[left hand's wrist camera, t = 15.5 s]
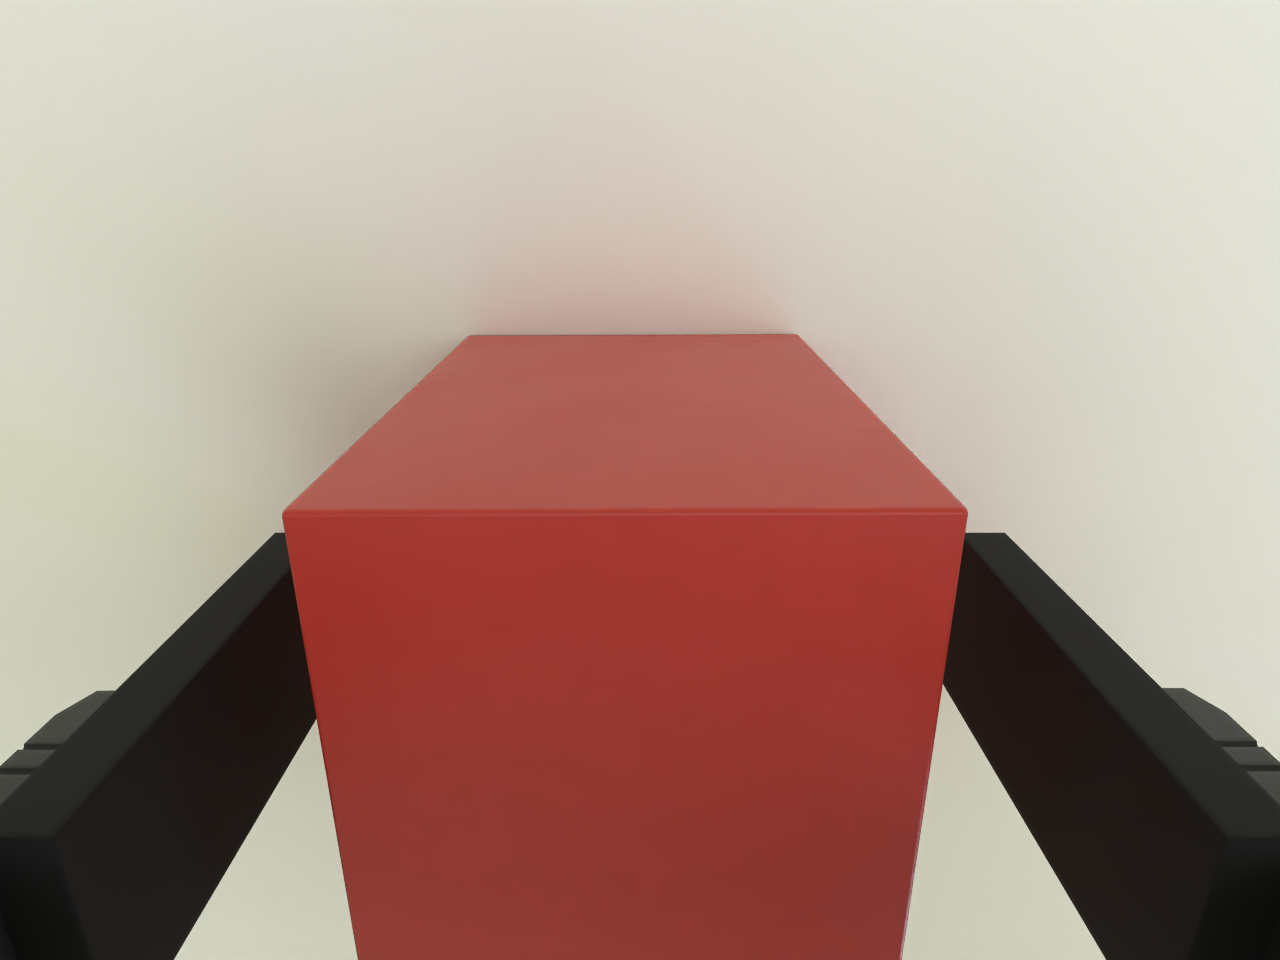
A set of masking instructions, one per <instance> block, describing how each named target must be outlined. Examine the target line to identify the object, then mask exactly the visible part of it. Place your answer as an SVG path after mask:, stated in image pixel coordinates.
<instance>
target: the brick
mask: <svg viewBox="0 0 1280 960" xmlns="http://www.w3.org/2000/svg"><path fill="white" fill-rule="evenodd" d="M967 516H968V512H967V509H966V508H965V507H964V505H963V504H962V503H961V502H960V501H959V500H958V499H957V498H956V497H955V496H954V495H953V494H952V493H951V492H950V491H949V490H948V489H947V488H946V487H945V486H944V485H943V484H942V483H941V482H940V481H939V480H938V479H937V478H936V477H935V476H934V475H933V474H932V473H931V472H930V471H929V469H928V468H927V467H926V466H925V465H924V464H923V463H922V462H921V461H920V460H919V459H918V458H917V457H916V456H915V455H914V454H913V453H912V452H911V451H910V450H909V449H908V448H907V447H906V446H905V445H904V444H903V443H902V442H901V441H900V440H899V439H898V438H897V437H896V436H895V435H894V434H893V432H892V431H891V430H890V429H889V428H888V427H887V426H886V425H885V424H884V423H883V422H882V421H881V420H880V419H879V418H878V417H877V416H876V415H875V414H874V413H873V412H872V411H871V410H870V409H869V408H868V407H867V406H866V405H865V404H864V403H863V402H862V401H861V400H860V399H859V398H858V396H857V395H856V394H855V393H854V392H853V391H852V390H851V389H850V388H849V387H848V386H847V385H846V384H845V383H844V382H843V381H842V380H841V379H840V378H839V377H838V376H837V375H836V374H835V373H834V372H833V371H832V370H831V369H830V368H829V367H828V366H827V365H826V364H825V363H824V362H823V361H822V359H821V358H820V357H819V356H818V355H817V354H816V353H815V352H814V351H813V350H812V349H811V348H810V347H809V346H808V345H807V344H806V343H805V342H804V341H803V340H802V339H801V338H800V337H799V336H798V335H543V336H468V337H467V338H466V339H465V340H464V341H463V342H462V343H461V344H460V345H459V346H458V347H456V348H455V349H454V350H453V351H452V352H451V353H450V354H449V355H448V356H447V357H446V358H445V359H444V360H443V361H442V362H441V363H440V364H438V365H437V366H436V367H435V368H434V369H433V370H432V371H431V372H430V373H429V374H428V375H427V376H426V377H425V378H424V379H423V380H422V381H420V382H419V383H418V384H417V385H416V386H415V387H414V388H413V389H412V390H411V391H410V392H409V393H408V394H407V395H406V396H405V397H403V398H402V399H401V400H400V401H399V402H398V403H397V404H396V405H395V406H394V407H393V408H392V409H391V410H390V411H389V412H388V413H387V414H385V415H384V416H383V417H382V418H381V419H380V420H379V421H378V422H377V423H376V424H375V425H374V426H373V427H372V428H371V429H370V430H369V431H367V432H366V433H365V434H364V435H363V436H362V437H361V438H360V439H359V440H358V441H357V442H356V443H355V444H354V445H353V446H352V447H351V448H349V449H348V450H347V451H346V452H345V453H344V454H343V455H342V456H341V457H340V458H339V459H338V460H337V461H336V462H335V463H334V464H332V465H331V466H330V467H329V468H328V469H327V470H326V471H325V472H324V473H323V474H322V475H321V476H320V477H319V478H318V479H317V480H316V481H314V482H313V483H312V484H311V485H310V486H309V487H308V488H307V489H306V490H305V491H304V492H303V493H302V494H301V495H300V496H299V497H298V498H296V499H295V500H294V501H293V502H292V503H291V504H290V505H289V506H288V507H287V508H286V509H285V510H284V511H283V514H282V518H283V524H284V530H285V536H286V542H287V547H288V553H289V559H290V565H291V571H292V577H293V582H294V588H295V594H296V600H297V606H298V612H299V618H300V623H301V629H302V635H303V641H304V647H305V653H306V658H307V664H308V670H309V676H310V682H311V688H312V694H313V699H314V705H315V711H316V717H317V723H318V729H319V735H320V740H321V746H322V752H323V758H324V764H325V770H326V775H327V781H328V787H329V793H330V799H331V805H332V811H333V816H334V822H335V828H336V834H337V840H338V846H339V852H340V857H341V863H342V869H343V875H344V881H345V887H346V892H347V898H348V904H349V910H350V916H351V922H352V928H353V933H354V939H355V945H356V951H357V957H358V960H902V953H903V946H904V940H905V933H906V926H907V919H908V913H909V906H910V899H911V893H912V886H913V879H914V872H915V866H916V859H917V852H918V845H919V839H920V832H921V825H922V819H923V812H924V805H925V798H926V792H927V785H928V778H929V771H930V765H931V758H932V751H933V745H934V738H935V731H936V724H937V718H938V711H939V704H940V697H941V691H942V684H943V677H944V671H945V664H946V657H947V650H948V644H949V637H950V630H951V623H952V617H953V610H954V603H955V597H956V590H957V583H958V576H959V570H960V563H961V556H962V550H963V543H964V536H965V529H966V523H967Z"/></svg>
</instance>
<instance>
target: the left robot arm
mask: <svg viewBox="0 0 1280 960" xmlns="http://www.w3.org/2000/svg"><path fill="white" fill-rule="evenodd" d="M943 685H944V686H945V688H946V690H947V692H948V693H949V695H950V697H951V698H952V700H953V702H954V703H955V705H956V707H957V708H958V710H959V712H960V713H961V715H962V717H963V719H964V720H965V722H966V724H967V725H968V727H969V729H970V730H971V732H972V734H973V735H974V737H975V739H976V741H977V742H978V744H979V746H980V747H981V749H982V751H983V752H984V754H985V756H986V757H987V759H988V761H989V762H990V764H991V766H992V768H993V769H994V771H995V773H996V774H997V776H998V778H999V779H1000V781H1001V783H1002V784H1003V786H1004V788H1005V789H1006V791H1007V793H1008V795H1009V796H1010V798H1011V800H1012V801H1013V803H1014V805H1015V806H1016V808H1017V810H1018V811H1019V813H1020V815H1021V817H1022V818H1023V820H1024V822H1025V823H1026V825H1027V827H1028V828H1029V830H1030V832H1031V833H1032V835H1033V837H1034V838H1035V840H1036V842H1037V844H1038V845H1039V847H1040V849H1041V850H1042V852H1043V854H1044V855H1045V857H1046V859H1047V860H1048V862H1049V864H1050V865H1051V867H1052V869H1053V871H1054V872H1055V874H1056V876H1057V877H1058V879H1059V881H1060V882H1061V884H1062V886H1063V887H1064V889H1065V891H1066V893H1067V894H1068V896H1069V898H1070V899H1071V901H1072V903H1073V904H1074V906H1075V908H1076V909H1077V911H1078V913H1079V914H1080V916H1081V918H1082V920H1083V921H1084V923H1085V925H1086V926H1087V928H1088V930H1089V931H1090V933H1091V935H1092V936H1093V938H1094V940H1095V941H1096V943H1097V945H1098V947H1099V948H1100V950H1101V952H1102V953H1103V955H1104V957H1105V958H1106V960H1280V762H1279V761H1278V760H1277V759H1276V758H1274V757H1273V756H1272V755H1271V754H1270V753H1269V752H1268V751H1267V750H1266V749H1265V748H1264V747H1258V746H1257V741H1256V740H1255V739H1254V738H1253V737H1252V736H1251V735H1250V734H1248V733H1247V732H1246V731H1245V730H1244V729H1243V728H1242V727H1241V726H1240V725H1239V724H1238V723H1237V722H1235V721H1234V720H1233V719H1232V718H1231V717H1230V716H1229V715H1228V714H1227V713H1226V712H1224V711H1222V710H1220V709H1219V708H1217V707H1215V706H1213V705H1212V704H1210V703H1208V702H1207V701H1205V700H1203V699H1201V698H1200V697H1198V696H1196V695H1194V694H1193V693H1191V692H1189V691H1188V690H1186V689H1184V688H1161V687H1160V686H1159V685H1158V684H1157V683H1156V682H1155V681H1154V680H1153V679H1152V678H1151V677H1150V676H1149V675H1148V674H1147V673H1146V672H1145V671H1144V670H1143V669H1142V668H1141V667H1140V666H1139V665H1138V664H1137V663H1136V662H1135V661H1134V660H1133V659H1132V658H1131V657H1130V656H1129V655H1128V654H1127V653H1126V652H1125V651H1124V650H1123V649H1122V648H1121V647H1120V646H1119V645H1118V644H1117V643H1116V642H1115V641H1114V640H1113V639H1112V638H1110V637H1109V636H1108V635H1107V634H1106V633H1105V632H1104V631H1103V630H1102V629H1101V628H1100V627H1099V626H1098V625H1097V624H1096V623H1095V622H1094V621H1093V620H1092V619H1091V618H1090V617H1089V616H1088V615H1087V614H1086V613H1085V612H1084V611H1083V610H1082V609H1081V608H1080V607H1079V606H1078V605H1077V604H1076V603H1075V602H1074V601H1073V600H1072V599H1071V598H1070V597H1069V596H1068V595H1067V594H1066V593H1065V592H1064V591H1063V590H1062V589H1061V588H1060V587H1059V586H1058V585H1057V584H1056V583H1055V582H1054V581H1053V580H1052V579H1051V578H1050V577H1049V576H1048V575H1047V574H1046V573H1045V572H1044V571H1043V570H1042V569H1041V568H1040V567H1039V566H1038V565H1037V564H1036V563H1035V562H1034V561H1033V560H1032V559H1031V558H1030V557H1029V556H1028V555H1027V554H1026V553H1025V552H1024V551H1023V550H1022V549H1021V548H1019V547H1018V546H1017V545H1016V544H1015V543H1014V542H1013V541H1012V540H1011V539H1010V538H1009V537H1008V536H1007V535H1006V534H1005V533H965V536H964V543H963V550H962V556H961V563H960V570H959V576H958V583H957V590H956V597H955V603H954V610H953V617H952V623H951V630H950V637H949V644H948V650H947V657H946V664H945V671H944V677H943ZM316 719H317V717H316V711H315V705H314V699H313V694H312V688H311V682H310V676H309V670H308V664H307V658H306V653H305V647H304V641H303V635H302V629H301V623H300V618H299V612H298V606H297V600H296V594H295V588H294V582H293V577H292V571H291V565H290V559H289V553H288V547H287V542H286V536H285V533H275V534H274V535H273V536H272V537H271V538H270V539H269V540H268V541H267V542H266V543H265V544H264V545H263V546H262V547H260V548H259V549H258V550H257V551H256V552H255V553H254V554H253V555H252V556H251V557H250V558H249V559H248V560H247V561H246V562H245V563H244V564H243V565H242V566H241V567H240V568H239V569H238V570H237V571H236V572H235V573H234V574H233V575H232V576H231V577H230V578H229V579H228V580H227V581H226V582H225V583H224V584H223V585H222V586H221V587H220V588H219V589H218V590H217V591H216V592H215V593H214V594H213V595H212V596H211V597H210V598H209V599H208V600H207V601H206V602H205V603H204V604H203V605H202V606H201V607H200V608H199V609H198V610H197V611H196V612H195V613H194V614H193V615H192V616H191V617H190V618H189V619H188V620H187V621H186V622H185V623H184V624H183V625H182V626H181V627H180V628H179V629H178V630H177V631H176V632H175V633H174V634H173V635H172V636H170V637H169V638H168V639H167V640H166V641H165V642H164V643H163V644H162V645H161V646H160V647H159V648H158V649H157V650H156V651H155V652H154V653H153V654H152V655H151V656H150V657H149V658H148V659H147V660H146V661H145V662H144V663H143V664H142V665H141V666H140V667H139V668H138V669H137V670H136V671H135V672H134V673H133V674H132V675H131V676H130V677H129V678H128V679H127V680H126V681H125V682H124V683H123V684H122V685H121V686H120V687H119V688H118V689H117V690H116V691H96V692H94V693H93V694H91V695H89V696H87V697H86V698H84V699H82V700H81V701H79V702H77V703H75V704H74V705H72V706H70V707H69V708H67V709H65V710H63V711H62V712H60V713H58V714H57V715H55V716H54V717H53V718H52V719H51V720H49V721H48V722H47V723H46V724H45V725H44V726H43V727H42V728H41V729H40V730H39V731H38V732H37V733H35V734H34V735H33V736H32V737H31V738H30V739H29V740H28V741H27V742H26V743H25V744H24V749H23V750H17V751H16V752H15V753H14V754H13V755H12V756H11V757H10V758H9V759H7V760H6V761H5V762H4V763H3V764H2V765H1V766H0V960H174V958H175V957H176V955H177V953H178V952H179V950H180V948H181V947H182V945H183V943H184V941H185V940H186V938H187V936H188V935H189V933H190V931H191V930H192V928H193V926H194V925H195V923H196V921H197V919H198V918H199V916H200V914H201V913H202V911H203V909H204V908H205V906H206V904H207V903H208V901H209V899H210V898H211V896H212V894H213V892H214V891H215V889H216V887H217V886H218V884H219V882H220V881H221V879H222V877H223V876H224V874H225V872H226V871H227V869H228V867H229V865H230V864H231V862H232V860H233V859H234V857H235V855H236V854H237V852H238V850H239V849H240V847H241V845H242V844H243V842H244V840H245V838H246V837H247V835H248V833H249V832H250V830H251V828H252V827H253V825H254V823H255V822H256V820H257V818H258V816H259V815H260V813H261V811H262V810H263V808H264V806H265V805H266V803H267V801H268V800H269V798H270V796H271V795H272V793H273V791H274V789H275V788H276V786H277V784H278V783H279V781H280V779H281V778H282V776H283V774H284V773H285V771H286V769H287V768H288V766H289V764H290V762H291V761H292V759H293V757H294V756H295V754H296V752H297V751H298V749H299V747H300V746H301V744H302V742H303V740H304V739H305V737H306V735H307V734H308V732H309V730H310V729H311V727H312V725H313V724H314V722H315V720H316Z"/></svg>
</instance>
